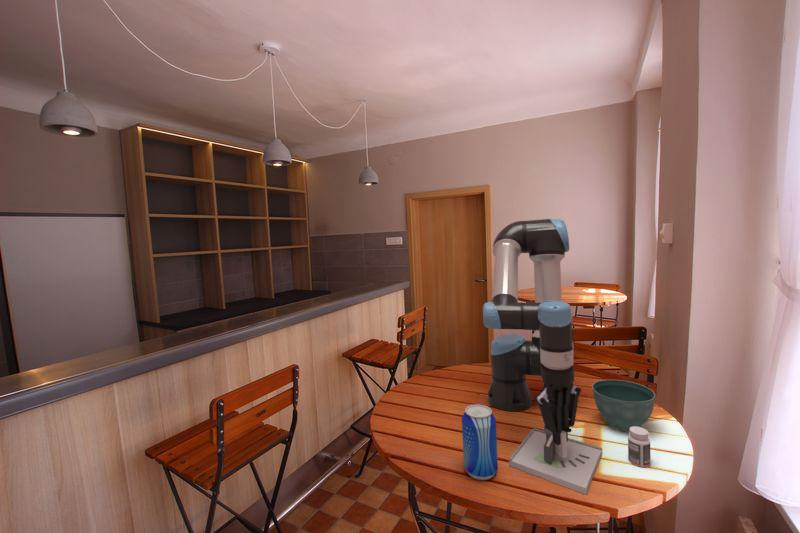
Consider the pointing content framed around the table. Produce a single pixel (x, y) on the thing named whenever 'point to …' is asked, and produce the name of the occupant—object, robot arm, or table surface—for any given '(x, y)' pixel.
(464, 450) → the beer can
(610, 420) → the flower pot
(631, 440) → the pill bottle
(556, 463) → the green curved panel
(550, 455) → the tuner knob
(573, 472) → the tuner board
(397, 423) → the table surface
